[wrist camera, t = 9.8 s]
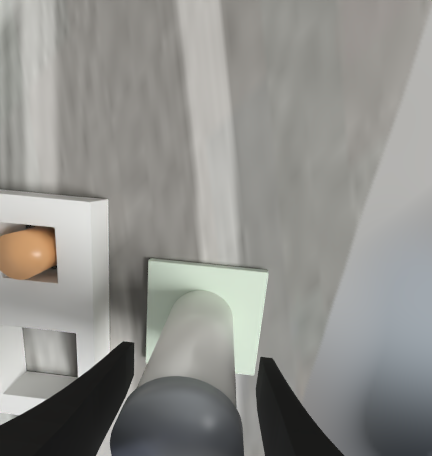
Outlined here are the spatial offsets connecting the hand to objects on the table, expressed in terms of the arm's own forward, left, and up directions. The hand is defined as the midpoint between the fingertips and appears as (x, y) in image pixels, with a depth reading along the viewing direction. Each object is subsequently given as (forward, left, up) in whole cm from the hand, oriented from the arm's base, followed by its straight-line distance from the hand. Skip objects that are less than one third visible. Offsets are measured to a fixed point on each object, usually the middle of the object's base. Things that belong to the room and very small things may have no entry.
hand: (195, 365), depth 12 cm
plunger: (-5, +11, -4) cm, 12 cm away
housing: (-8, +8, -4) cm, 12 cm away
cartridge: (0, 0, -4) cm, 4 cm away
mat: (0, 0, -4) cm, 4 cm away
